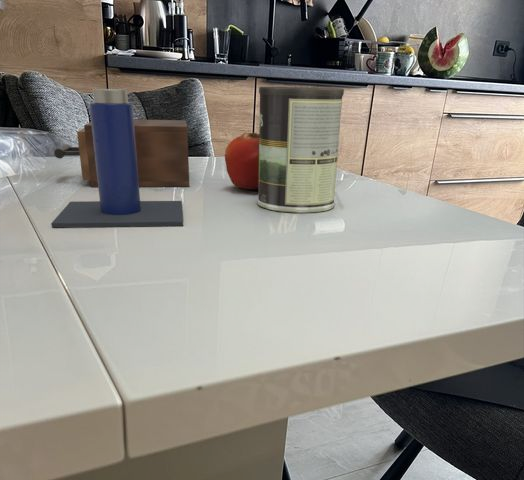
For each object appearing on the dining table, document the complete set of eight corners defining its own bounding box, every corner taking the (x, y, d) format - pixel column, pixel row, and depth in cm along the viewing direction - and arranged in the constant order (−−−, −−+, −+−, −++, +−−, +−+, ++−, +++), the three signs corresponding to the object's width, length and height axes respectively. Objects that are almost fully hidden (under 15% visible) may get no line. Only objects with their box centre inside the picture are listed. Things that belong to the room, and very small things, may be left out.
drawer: (53, 180, 81) (46, 131, 78) (68, 167, 93) (63, 124, 90) (173, 180, 83) (171, 132, 81) (174, 168, 95) (172, 126, 92)
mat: (51, 227, 59) (51, 223, 58) (70, 205, 69) (70, 201, 69) (183, 225, 61) (183, 221, 60) (181, 204, 71) (181, 200, 71)
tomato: (242, 182, 88) (242, 129, 85) (294, 188, 85) (296, 132, 81) (212, 191, 81) (211, 133, 77) (268, 197, 77) (270, 136, 74)
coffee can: (246, 209, 70) (246, 86, 63) (271, 195, 78) (274, 86, 72) (324, 216, 67) (333, 87, 60) (342, 201, 75) (351, 88, 69)
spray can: (98, 215, 62) (84, 89, 57) (103, 206, 67) (90, 88, 61) (139, 214, 63) (130, 90, 57) (141, 206, 67) (132, 89, 61)
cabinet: (91, 187, 82) (84, 125, 78) (102, 172, 95) (96, 119, 91) (189, 186, 84) (187, 126, 80) (187, 172, 97) (185, 120, 93)
